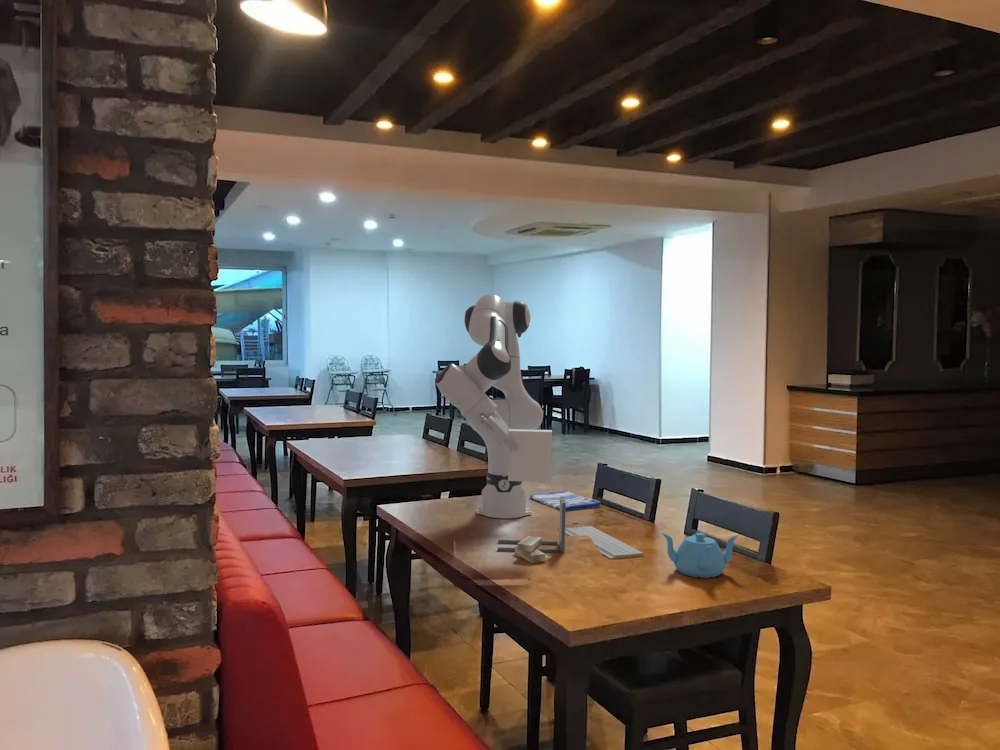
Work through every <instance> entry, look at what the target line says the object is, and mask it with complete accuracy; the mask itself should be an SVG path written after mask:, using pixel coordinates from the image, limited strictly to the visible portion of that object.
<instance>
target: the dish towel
mask: <svg viewBox="0 0 1000 750" xmlns="http://www.w3.org/2000/svg"><path fill="white" fill-rule="evenodd" d="M560 496H563V497H564V499H565V502H566V512H571V511H579V510H590V509H598V508H601V505H602V503H601V501H600V500H598V499H595V498H590V497H587V496H586V497H584V496H582V495H581V494H578V493H574V492H570V491H568V490H567V489H563V490H555V491H554V490H553V491H537V492H533V493H531V494H530V495H529V499H530V500H532V499H534V500H533V501H535V500H537V501H539V502H540V503H539V502H538V503H539V504H542V505H544V504H545V506H548V507H550V508H553V509H555V510H559V511H560ZM542 498H543V499H542ZM545 498H546V499H545ZM537 501H536V502H537Z"/></svg>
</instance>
